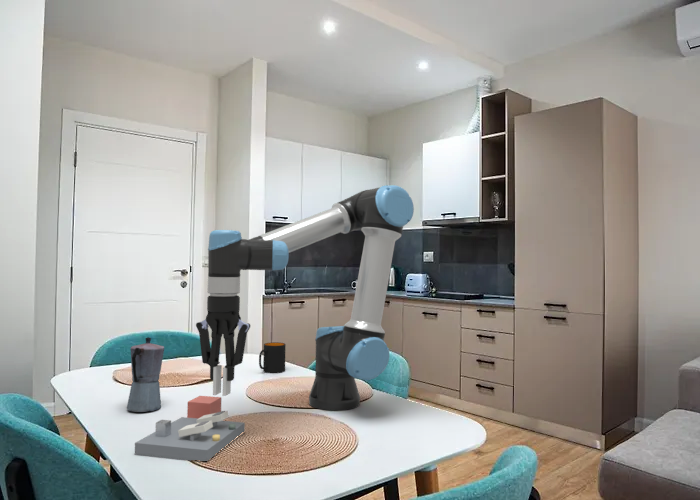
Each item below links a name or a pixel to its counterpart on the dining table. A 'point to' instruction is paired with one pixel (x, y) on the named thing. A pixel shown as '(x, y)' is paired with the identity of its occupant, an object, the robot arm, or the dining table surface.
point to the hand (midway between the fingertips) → (221, 393)
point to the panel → (190, 441)
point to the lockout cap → (203, 406)
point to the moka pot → (145, 377)
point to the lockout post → (163, 428)
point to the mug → (273, 358)
